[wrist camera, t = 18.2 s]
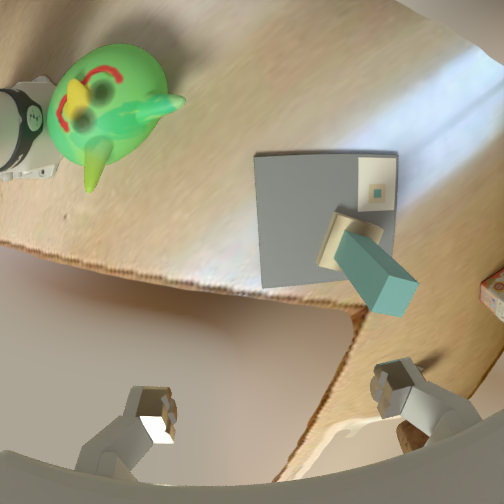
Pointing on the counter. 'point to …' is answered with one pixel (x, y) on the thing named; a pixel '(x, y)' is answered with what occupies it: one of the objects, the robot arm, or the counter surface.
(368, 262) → the column
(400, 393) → the robot arm
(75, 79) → the toy bird
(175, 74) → the counter surface
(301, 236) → the base plate
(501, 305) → the cracker box
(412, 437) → the block
